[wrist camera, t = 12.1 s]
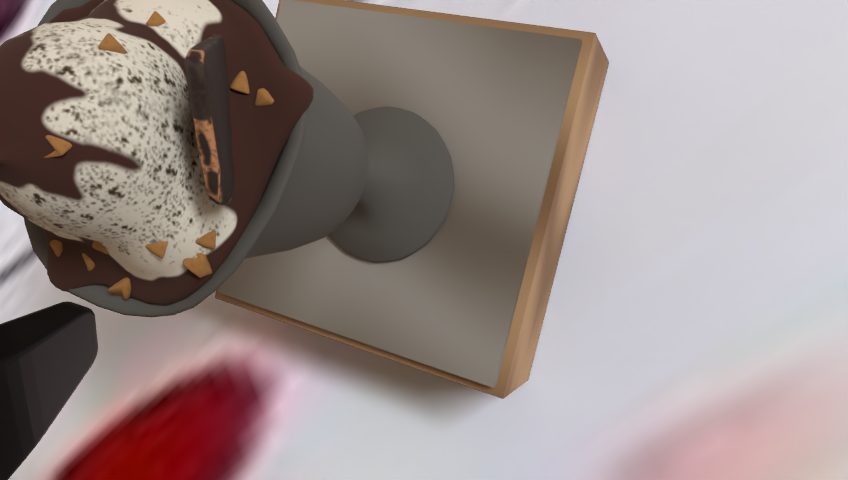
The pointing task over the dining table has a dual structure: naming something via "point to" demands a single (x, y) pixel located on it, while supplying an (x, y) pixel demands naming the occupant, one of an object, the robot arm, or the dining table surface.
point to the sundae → (196, 152)
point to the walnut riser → (473, 187)
